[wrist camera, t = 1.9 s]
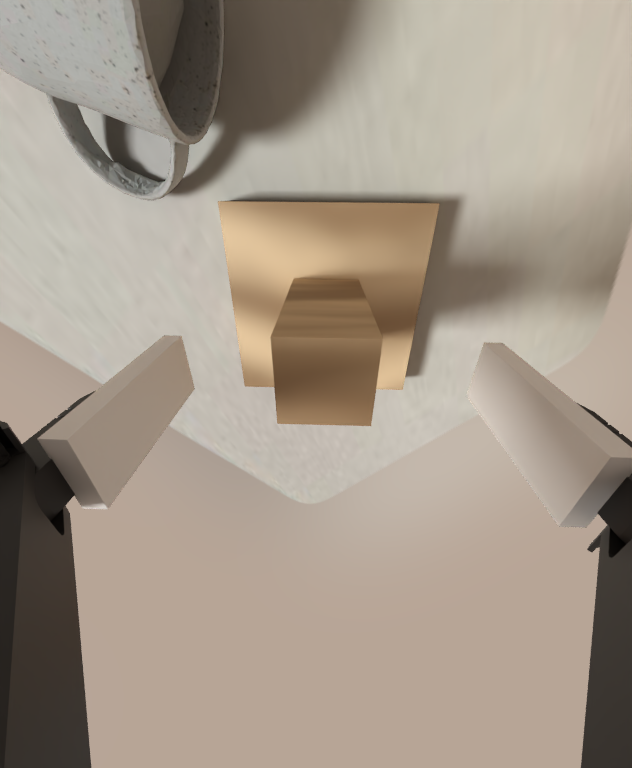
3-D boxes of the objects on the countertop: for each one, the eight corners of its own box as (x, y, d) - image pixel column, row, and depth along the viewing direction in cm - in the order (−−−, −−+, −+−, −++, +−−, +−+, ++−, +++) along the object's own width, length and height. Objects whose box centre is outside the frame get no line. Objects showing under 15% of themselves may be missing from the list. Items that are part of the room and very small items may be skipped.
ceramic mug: (21, -146, 11) (-368, -576, 5) (231, -68, 12) (127, -350, 6) (77, 176, 17) (-72, 168, 11) (217, 215, 18) (157, 229, 12)
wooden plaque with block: (224, 201, 17) (120, 204, 8) (432, 203, 17) (545, 208, 8) (248, 378, 23) (203, 482, 15) (399, 381, 23) (442, 489, 15)
